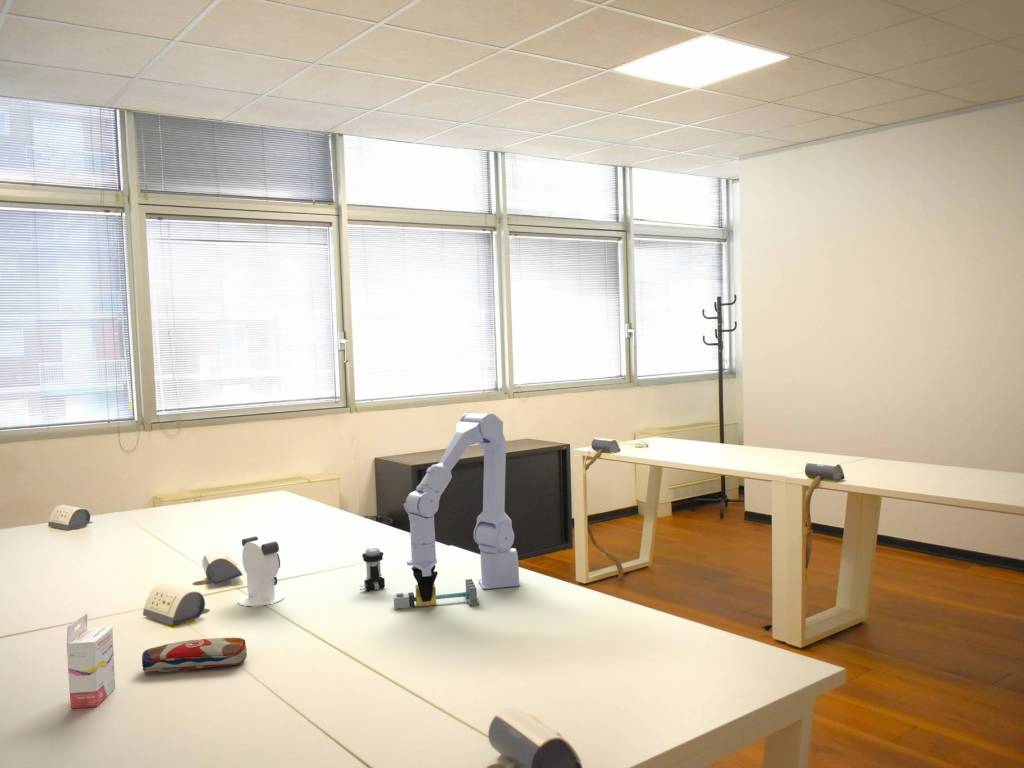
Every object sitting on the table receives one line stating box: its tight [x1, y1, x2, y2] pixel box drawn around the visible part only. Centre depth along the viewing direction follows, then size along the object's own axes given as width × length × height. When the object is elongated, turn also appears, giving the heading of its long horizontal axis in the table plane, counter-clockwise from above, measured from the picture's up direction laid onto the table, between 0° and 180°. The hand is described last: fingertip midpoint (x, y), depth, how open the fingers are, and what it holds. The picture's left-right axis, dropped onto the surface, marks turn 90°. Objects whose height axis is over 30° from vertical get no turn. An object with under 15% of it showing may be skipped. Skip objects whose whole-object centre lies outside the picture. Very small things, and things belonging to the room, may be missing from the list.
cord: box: [414, 591, 468, 602], centre depth 200 cm, size 16×1×1 cm, turn 101°
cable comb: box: [464, 578, 480, 607], centre depth 202 cm, size 2×9×4 cm, turn 11°
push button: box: [359, 547, 386, 592], centre depth 214 cm, size 7×5×10 cm
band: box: [407, 591, 416, 608], centre depth 199 cm, size 1×3×3 cm, turn 10°
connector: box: [393, 592, 410, 610], centre depth 199 cm, size 4×3×3 cm
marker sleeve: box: [414, 583, 437, 608], centre depth 200 cm, size 4×3×4 cm
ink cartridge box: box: [66, 613, 116, 709], centre depth 152 cm, size 9×5×15 cm, turn 5°
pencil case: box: [141, 637, 248, 673], centre depth 166 cm, size 11×20×5 cm, turn 82°
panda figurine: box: [237, 535, 286, 607], centre depth 209 cm, size 12×11×15 cm
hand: (425, 598), depth 200 cm, fingers closed on marker sleeve, 3 cm apart
